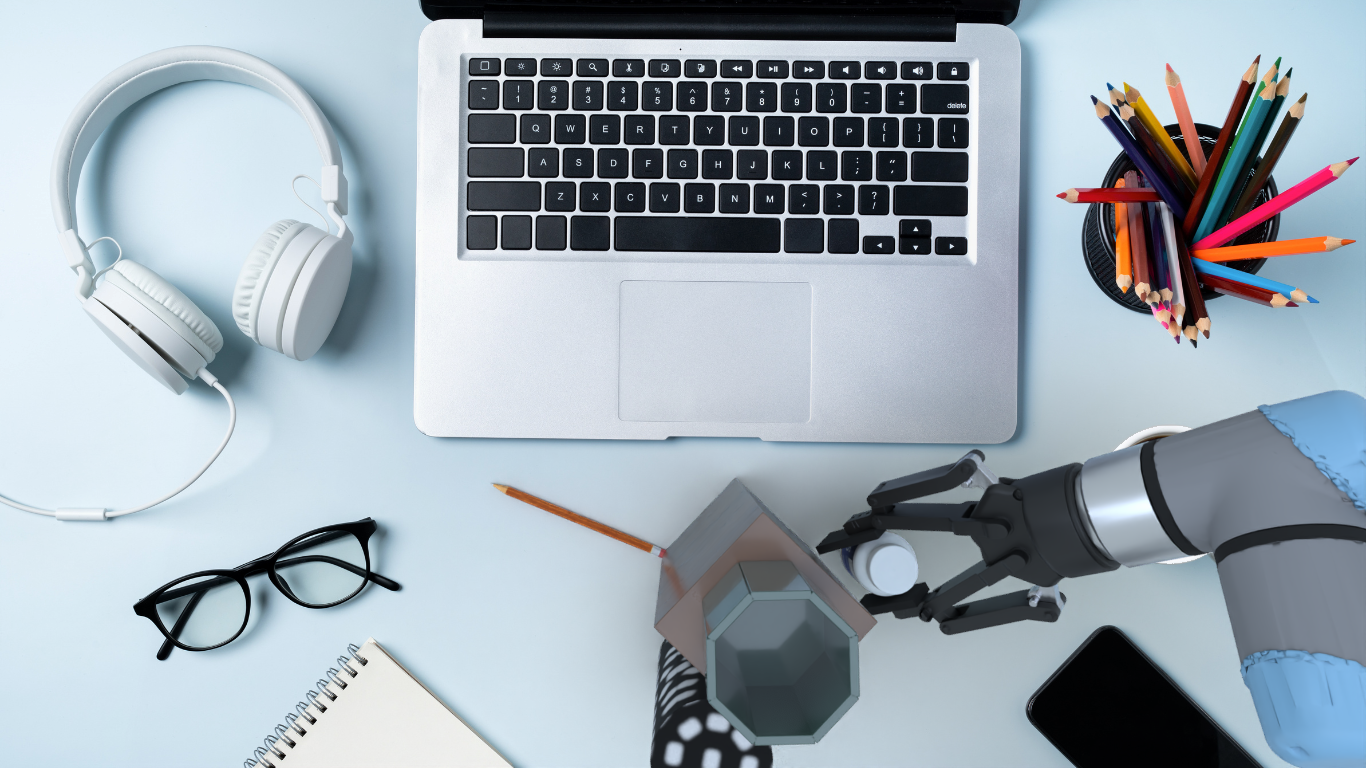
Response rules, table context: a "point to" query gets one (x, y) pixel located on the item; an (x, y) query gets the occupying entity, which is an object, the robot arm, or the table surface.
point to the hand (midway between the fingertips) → (843, 574)
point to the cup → (777, 654)
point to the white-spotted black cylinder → (695, 723)
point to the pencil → (580, 520)
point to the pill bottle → (882, 564)
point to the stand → (715, 547)
